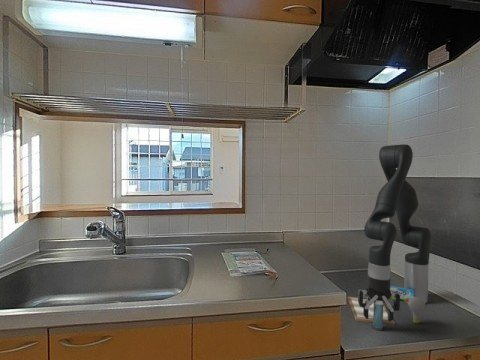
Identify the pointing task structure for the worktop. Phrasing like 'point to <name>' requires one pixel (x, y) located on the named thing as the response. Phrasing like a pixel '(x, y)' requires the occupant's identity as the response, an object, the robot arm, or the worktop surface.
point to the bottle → (378, 315)
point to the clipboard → (360, 316)
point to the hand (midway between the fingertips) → (378, 319)
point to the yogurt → (402, 294)
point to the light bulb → (416, 308)
